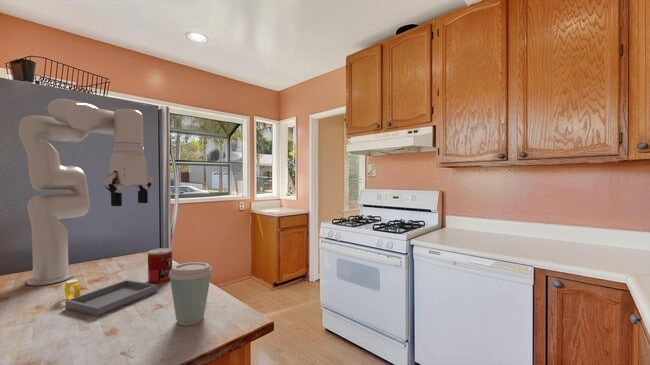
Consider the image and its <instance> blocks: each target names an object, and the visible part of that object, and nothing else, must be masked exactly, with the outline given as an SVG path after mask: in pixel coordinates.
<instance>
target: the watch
mask: <svg viewBox="0 0 650 365" xmlns="http://www.w3.org/2000/svg"><path fill="white" fill-rule="evenodd" d="M71 286H72V288H73V291H74V292H73V293H74V295H73V294H72V290H71ZM64 293H65V294H64V296H65V298H66V300H69V299H72V298H75V297H78V296H81V288H80V285H79V279H68V280H66V282H65V286H64Z"/></svg>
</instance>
